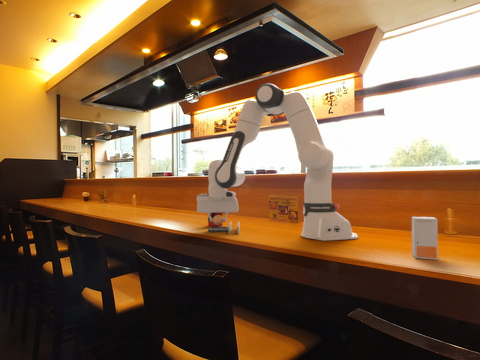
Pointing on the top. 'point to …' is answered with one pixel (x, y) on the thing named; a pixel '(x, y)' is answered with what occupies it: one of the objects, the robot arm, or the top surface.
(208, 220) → the canned food
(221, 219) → the ball
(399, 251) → the top surface
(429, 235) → the skincare box
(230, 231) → the walls
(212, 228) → the coaster
